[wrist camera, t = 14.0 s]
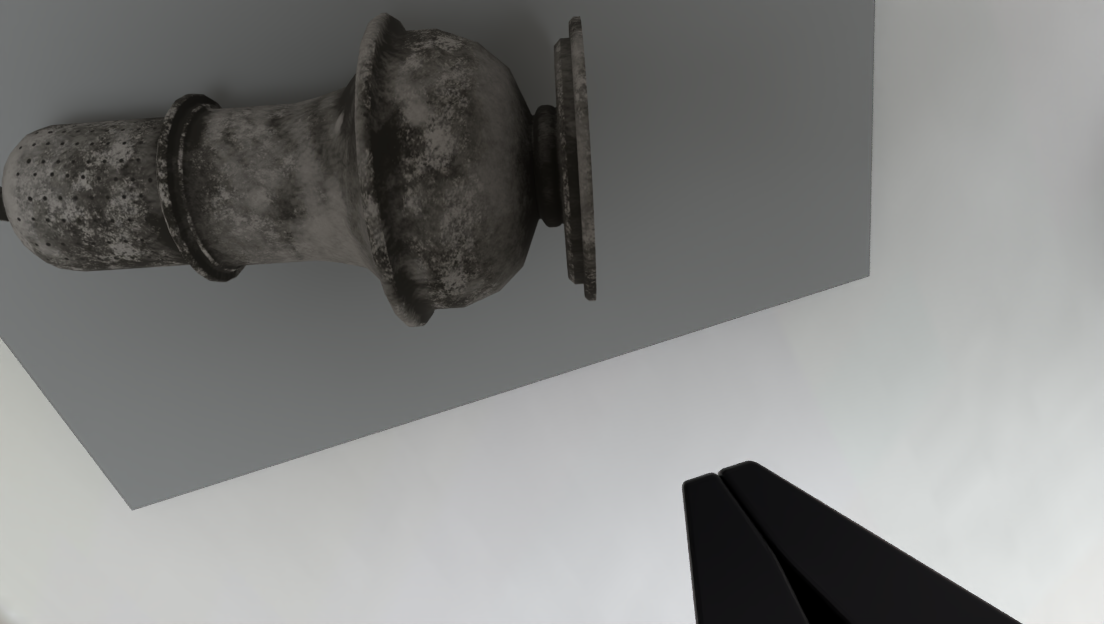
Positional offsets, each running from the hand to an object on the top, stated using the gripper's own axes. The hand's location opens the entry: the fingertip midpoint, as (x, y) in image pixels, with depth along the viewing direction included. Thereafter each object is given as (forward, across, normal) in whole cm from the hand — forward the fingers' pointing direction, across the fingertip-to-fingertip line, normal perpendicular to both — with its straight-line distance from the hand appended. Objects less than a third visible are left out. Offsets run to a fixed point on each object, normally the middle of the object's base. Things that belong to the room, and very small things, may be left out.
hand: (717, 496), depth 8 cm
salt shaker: (+8, -1, -1) cm, 8 cm away
